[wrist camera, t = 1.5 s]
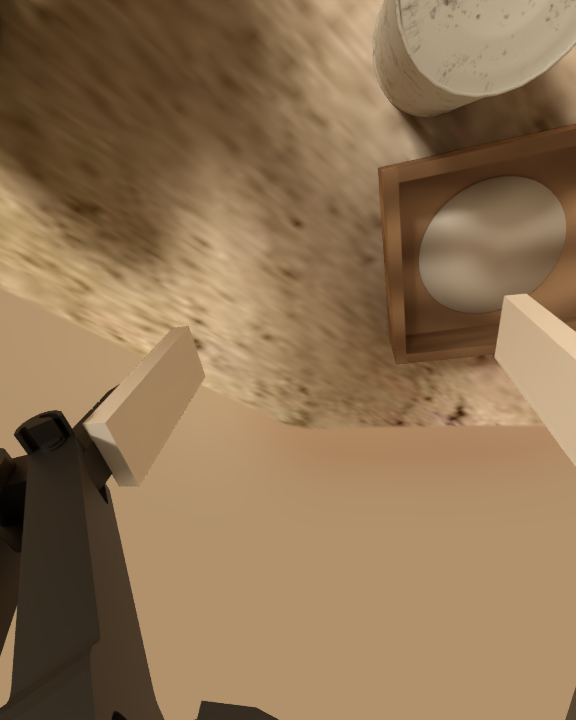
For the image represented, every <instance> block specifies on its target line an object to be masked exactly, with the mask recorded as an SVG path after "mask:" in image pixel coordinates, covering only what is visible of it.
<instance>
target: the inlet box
mask: <svg viewBox="0 0 576 720" xmlns="http://www.w3.org/2000/svg"><path fill="white" fill-rule="evenodd" d="M378 177H379V192H380V206H381V220H382V234H383V249H384V263H385V277H386V291H387V305H388V320H389V334H390V343H391V347H392V350H393V354H394V358H395V362H396V364H405V363H414V362H424V361H433V360H443V359H453V358H462V357H472V356H481V355H491V354H495V351H496V344H497V338H498V332H499V325H500V319H501V312H502V306H503V299H504V296H506V295H517V294H527V295H529V296H530V297H531V298H533V299H534V300H535V301H536V302H538V303H539V304H540V305H542V306H543V307H544V308H545V309H547V310H548V311H549V312H551V313H552V314H553V315H555V316H556V317H557V318H558V319H560V320H561V321H562V322H564V323H565V324H566V325H567V326H569V327H570V328H571V329H573V330H574V331H575V332H576V124H573V125H569V126H564V127H560V128H556V129H551V130H547V131H542V132H538V133H533V134H529V135H524V136H520V137H515V138H511V139H506V140H502V141H497V142H493V143H488V144H484V145H479V146H475V147H470V148H466V149H461V150H457V151H452V152H448V153H443V154H439V155H434V156H430V157H425V158H421V159H416V160H412V161H407V162H403V163H398V164H394V165H389V166H385V167H380V168H378Z"/></svg>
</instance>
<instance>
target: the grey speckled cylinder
mask: <svg viewBox="0 0 576 720" xmlns="http://www.w3.org/2000/svg"><path fill="white" fill-rule="evenodd" d="M575 45H576V0H384V2H383V5H382V7H381V10H380V13H379V15H378V18H377V23H376V28H375V33H374V41H373V59H374V66H375V72H376V76H377V78H378V81H379V84H380V86H381V89H382V90H383V92H384V93H385V95H386V96H387V98H388V99H389V101H391V102H392V103H393V104H394V105H395V106H396V107H397V108H399V109H400V110H402V111H404V112H406V113H408V114H410V115H414V116H420V117H432V116H440V115H442V114H445V113H448V112H451V111H453V110H455V109H457V108H458V107H461V106H463V105H466V104H469V103H472V102H474V101H477V100H480V99H483V98H485V97H490V96H497V95H500V94H503V93H506V92H508V91H511V90H514V89H517V88H519V87H522V86H524V85H525V84H527V83H529V82H530V81H532V80H534V79H535V78H537V77H538V76H540V75H542V74H543V73H545V72H547V71H548V70H549V69H550V68H551V67H552V66H553V65H555V64H556V63H557V62H558V61H559V60H560V59H562V58H563V57H564V56H565V55H566V54H567V53H568V52H570V51H571V49H572V48H573V47H574V46H575Z"/></svg>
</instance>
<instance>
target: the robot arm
mask: <svg viewBox="0 0 576 720" xmlns="http://www.w3.org/2000/svg"><path fill="white" fill-rule="evenodd" d="M495 359H496V360H497V361H498V363H499V364H500V365H501V367H502V368H503V370H504V371H505V372H506V374H507V375H508V376H509V378H510V379H511V380H512V382H513V383H514V384H515V386H516V387H517V388H518V390H519V391H520V392H521V394H522V395H523V396H524V398H525V399H526V401H527V402H528V403H529V405H530V406H531V407H532V409H533V410H534V411H535V413H536V414H537V415H538V417H539V418H540V419H541V421H542V422H543V423H544V425H545V426H546V427H547V429H548V430H549V431H550V433H551V434H552V436H553V437H554V438H555V440H556V441H557V442H558V444H559V445H560V446H561V448H562V449H563V450H564V452H565V453H566V454H567V456H568V457H569V458H570V460H571V461H572V462H573V464H574V465H575V466H576V332H575V331H574V330H573V329H571V328H570V327H569V326H567V325H566V324H565V323H564V322H562V321H561V320H560V319H558V318H557V317H556V316H555V315H553V314H552V313H551V312H549V311H548V310H547V309H545V308H544V307H543V306H542V305H540V304H539V303H538V302H536V301H535V300H534V299H533V298H531V297H530V296H529V295H527V294H517V295H506V296H504V299H503V306H502V312H501V319H500V325H499V332H498V338H497V344H496V351H495ZM204 378H205V374H204V371H203V368H202V365H201V362H200V359H199V356H198V353H197V350H196V347H195V344H194V341H193V338H192V335H191V332H190V329H189V326H186V327H175V328H173V329H172V330H171V331H170V332H169V333H168V334H167V335H166V336H165V337H164V338H163V339H162V340H161V341H160V342H159V343H158V344H157V345H156V347H155V348H154V349H153V350H152V351H151V352H150V353H149V354H148V355H147V356H146V357H145V358H144V359H143V360H142V361H141V363H139V365H138V366H137V367H136V368H135V369H134V370H133V371H132V372H131V373H130V374H129V375H128V376H127V377H126V378H125V379H124V380H123V382H122V383H121V384H119V385H117V386H116V387H114V388H113V389H111V390H110V391H108V392H107V393H106V394H105V395H104V396H103V397H102V399H101V400H100V402H98V403H97V404H96V405H95V406H94V407H93V409H91V410H90V411H89V412H88V413H87V414H86V415H85V416H84V417H83V418H82V419H81V420H80V421H79V422H78V423H77V424H76V425H75V426H74V428H73V429H72V428H71V426H70V425H69V423H68V421H67V420H66V418H65V417H64V415H63V413H62V412H61V411H57V410H54V411H48V412H44V413H41V414H39V415H37V416H35V417H32V418H30V419H29V420H27V421H26V422H24V423H23V424H22V425H21V426H20V427H18V429H16V431H15V434H14V436H15V437H16V439H17V440H18V441H19V443H20V444H21V446H22V447H23V448H24V450H25V451H26V452H27V454H28V455H24V456H21V457H16V458H13V459H12V458H11V457H10V455H9V454H8V453H7V452H6V450H5V449H3V448H0V655H1V652H2V649H3V646H4V643H5V640H6V637H7V634H8V631H9V627H10V625H11V622H12V619H13V616H14V612H15V609H16V607H17V619H16V631H15V645H14V658H13V672H12V686H11V693H10V698H9V701H8V702H7V704H6V705H4V706H3V707H1V708H0V720H164V718H163V715H162V713H161V711H160V709H159V707H158V704H157V701H156V698H155V695H154V691H153V687H152V682H151V677H150V673H149V668H148V664H147V659H146V654H145V650H144V645H143V640H142V636H141V631H140V627H139V622H138V618H137V613H136V608H135V604H134V600H133V595H132V590H131V586H130V581H129V577H128V572H127V567H126V563H125V558H124V554H123V549H122V544H121V540H120V535H119V531H118V527H117V522H116V517H115V513H114V508H113V503H112V499H111V494H110V490H109V489H108V487H107V485H106V484H105V483H106V481H107V480H108V479H109V477H110V476H111V474H112V475H113V477H114V479H115V480H116V482H117V483H118V485H119V486H140V484H141V483H142V481H143V479H144V478H145V476H146V474H147V473H148V471H149V469H150V468H151V466H152V464H153V463H154V461H155V459H156V458H157V456H158V454H159V453H160V451H161V449H162V448H163V446H164V444H165V443H166V441H167V439H168V438H169V436H170V434H171V433H172V431H173V429H174V428H175V426H176V424H177V423H178V421H179V419H180V417H181V416H182V414H183V413H184V411H185V409H186V408H187V406H188V404H189V403H190V401H191V399H192V398H193V396H194V394H195V392H196V391H197V389H198V388H199V386H200V384H201V383H202V381H203V379H204ZM195 720H278V719H277V718H275V717H273V716H271V715H269V714H267V713H265V712H263V711H262V710H260V709H258V708H256V707H247V706H240V705H232V704H224V703H216V702H208V701H202V702H201V705H200V709H199V713H198V718H197V719H195ZM566 720H576V688H575V692H574V695H573V697H572V701H571V704H570V707H569V710H568V713H567V716H566Z"/></svg>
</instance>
